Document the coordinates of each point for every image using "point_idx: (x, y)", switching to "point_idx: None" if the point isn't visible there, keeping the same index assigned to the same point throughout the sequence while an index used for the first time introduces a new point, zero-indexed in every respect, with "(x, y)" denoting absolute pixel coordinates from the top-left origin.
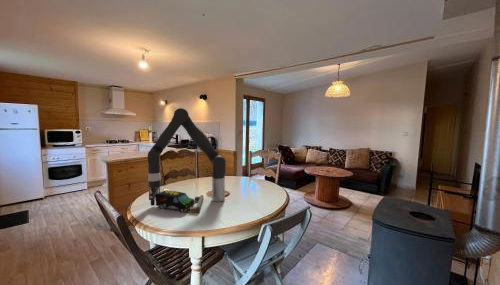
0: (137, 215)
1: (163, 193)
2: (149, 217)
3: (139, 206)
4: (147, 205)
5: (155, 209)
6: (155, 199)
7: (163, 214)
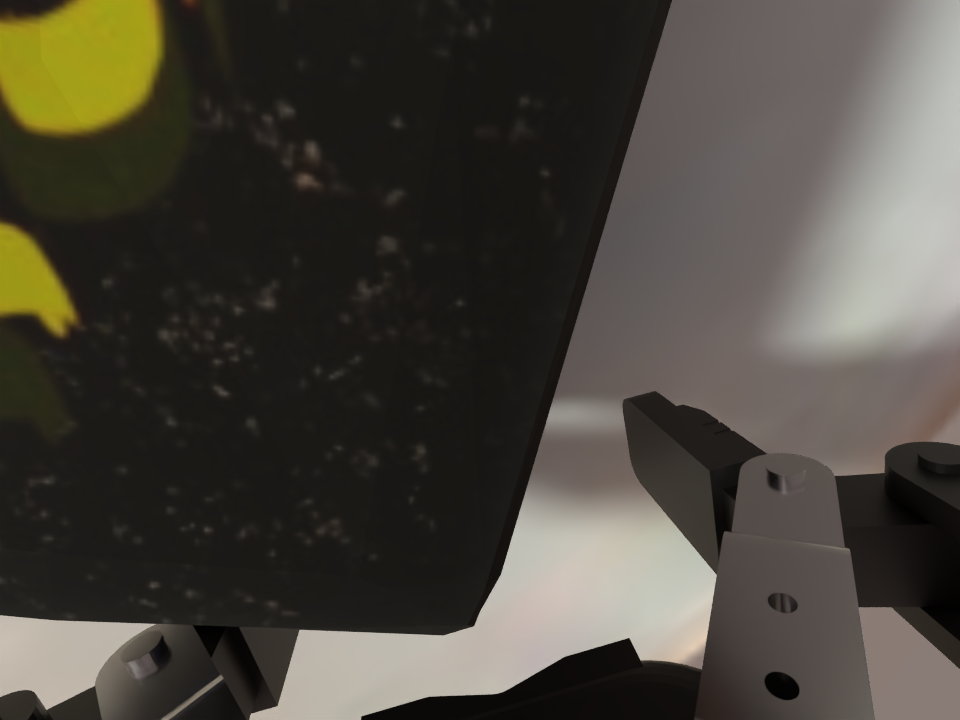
0: None
1: (362, 292)
2: (902, 254)
3: None
4: None
5: None
6: None
7: (787, 15)
